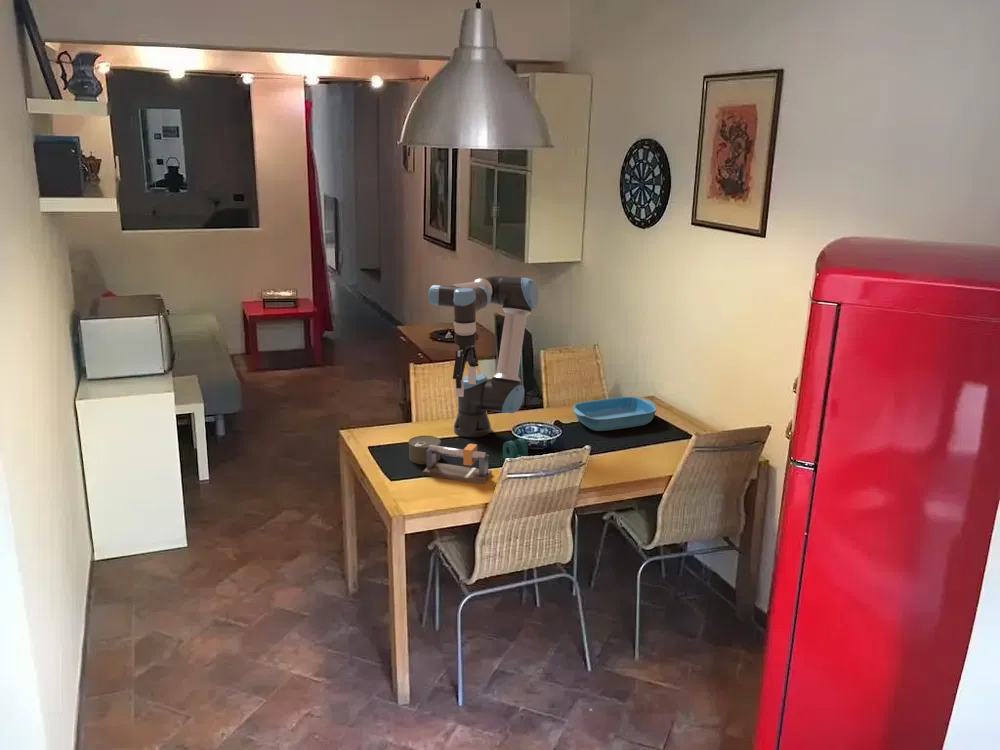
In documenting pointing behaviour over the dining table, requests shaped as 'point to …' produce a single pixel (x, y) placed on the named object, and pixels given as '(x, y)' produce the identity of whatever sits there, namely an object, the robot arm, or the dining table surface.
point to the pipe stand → (454, 470)
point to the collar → (469, 454)
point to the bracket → (515, 448)
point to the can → (422, 448)
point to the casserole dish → (615, 413)
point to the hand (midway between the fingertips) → (466, 389)
